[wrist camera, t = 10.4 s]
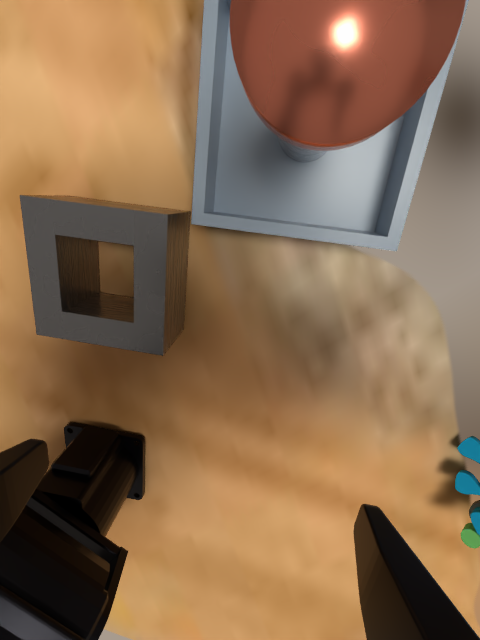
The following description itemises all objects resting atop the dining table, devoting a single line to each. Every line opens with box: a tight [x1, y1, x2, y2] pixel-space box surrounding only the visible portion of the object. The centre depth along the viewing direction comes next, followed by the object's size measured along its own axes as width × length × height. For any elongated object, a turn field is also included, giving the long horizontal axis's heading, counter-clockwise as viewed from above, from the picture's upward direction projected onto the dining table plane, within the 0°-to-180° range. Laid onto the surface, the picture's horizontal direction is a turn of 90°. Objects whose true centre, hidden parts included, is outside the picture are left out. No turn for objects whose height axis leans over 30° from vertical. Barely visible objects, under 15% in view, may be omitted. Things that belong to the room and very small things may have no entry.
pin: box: [230, 0, 466, 162], centre depth 11 cm, size 4×4×11 cm
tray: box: [191, 0, 469, 251], centre depth 16 cm, size 10×10×3 cm
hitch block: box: [20, 195, 190, 356], centre depth 19 cm, size 8×8×4 cm
